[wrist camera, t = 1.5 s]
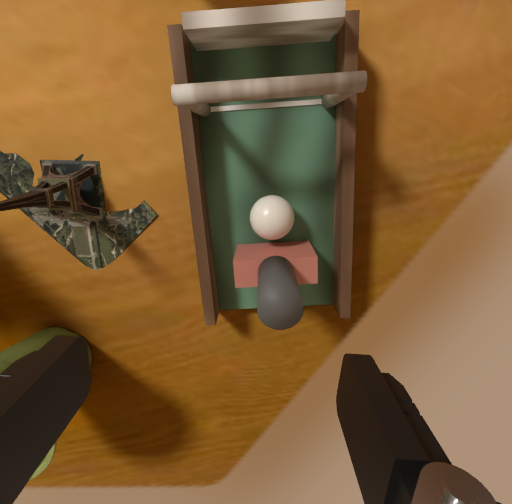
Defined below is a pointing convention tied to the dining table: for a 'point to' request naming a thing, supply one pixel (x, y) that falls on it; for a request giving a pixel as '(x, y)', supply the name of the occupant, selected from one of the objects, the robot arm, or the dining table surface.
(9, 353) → the plant pot
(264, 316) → the striker
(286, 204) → the ball
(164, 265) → the dining table surface
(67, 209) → the eiffel tower figurine
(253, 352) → the dining table surface
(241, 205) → the pitch
